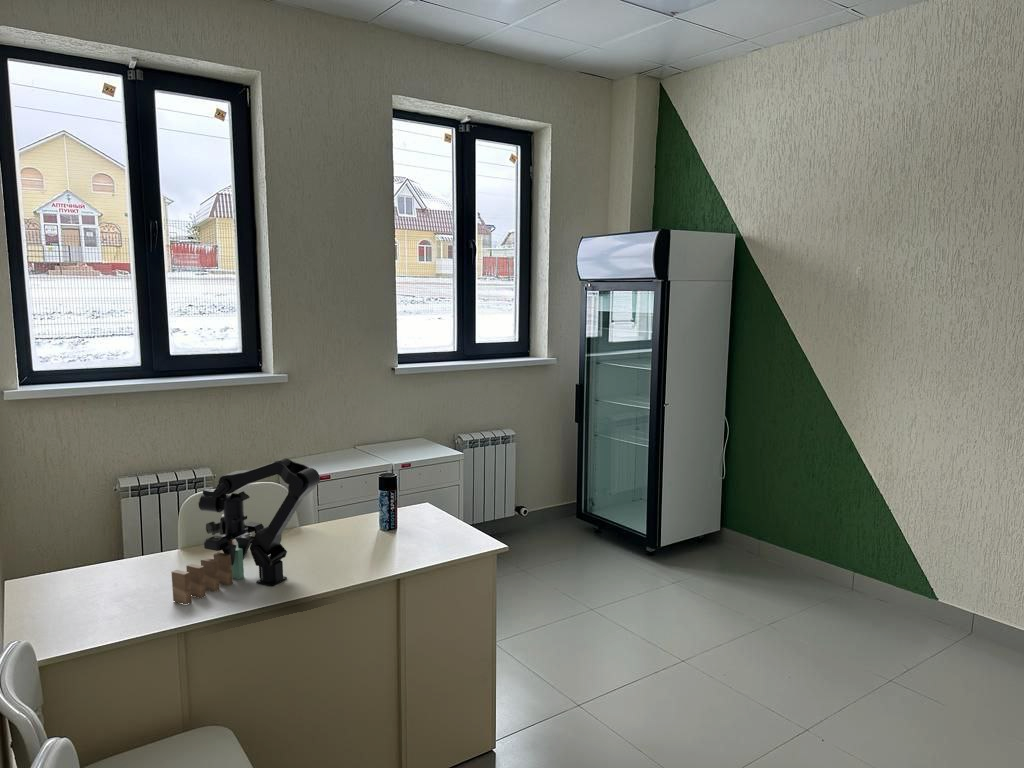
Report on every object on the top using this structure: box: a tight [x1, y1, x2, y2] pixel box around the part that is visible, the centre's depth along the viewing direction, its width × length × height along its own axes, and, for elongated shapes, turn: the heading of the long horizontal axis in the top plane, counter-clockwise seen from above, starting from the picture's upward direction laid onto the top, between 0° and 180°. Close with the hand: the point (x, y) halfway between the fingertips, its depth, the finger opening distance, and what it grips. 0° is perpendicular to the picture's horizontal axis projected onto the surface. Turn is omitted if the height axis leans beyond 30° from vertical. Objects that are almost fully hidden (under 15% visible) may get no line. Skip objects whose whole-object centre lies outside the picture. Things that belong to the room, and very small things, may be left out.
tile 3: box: [200, 557, 221, 593], centre depth 206 cm, size 2×5×9 cm, turn 65°
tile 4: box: [186, 563, 207, 599], centre depth 202 cm, size 2×5×9 cm, turn 65°
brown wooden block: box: [171, 569, 192, 604], centre depth 197 cm, size 2×5×9 cm, turn 65°
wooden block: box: [212, 551, 234, 586], centre depth 211 cm, size 2×5×9 cm, turn 65°
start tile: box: [231, 548, 245, 580], centre depth 216 cm, size 2×5×9 cm, turn 65°
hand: (236, 562), depth 215 cm, fingers open, 4 cm apart
